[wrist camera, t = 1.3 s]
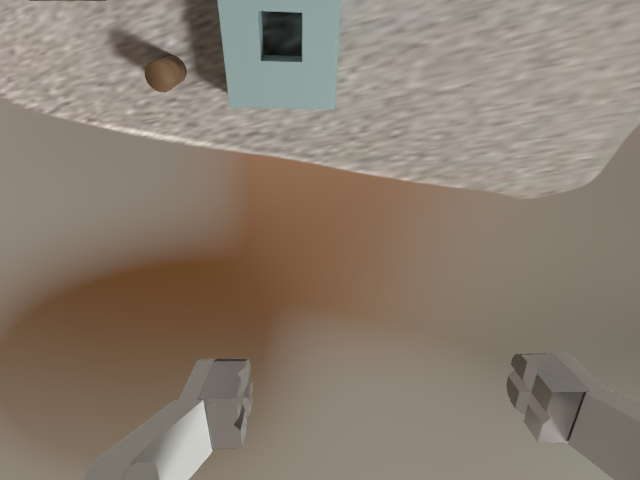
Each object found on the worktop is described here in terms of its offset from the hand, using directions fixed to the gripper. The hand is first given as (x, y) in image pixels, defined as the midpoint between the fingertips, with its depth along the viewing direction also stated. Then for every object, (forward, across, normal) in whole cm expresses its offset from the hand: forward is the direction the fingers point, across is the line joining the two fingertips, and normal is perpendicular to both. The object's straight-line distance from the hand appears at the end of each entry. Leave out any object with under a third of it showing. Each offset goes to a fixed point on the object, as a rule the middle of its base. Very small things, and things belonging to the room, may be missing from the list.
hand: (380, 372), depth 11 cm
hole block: (+37, +6, -16) cm, 40 cm away
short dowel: (+37, +19, -12) cm, 43 cm away
